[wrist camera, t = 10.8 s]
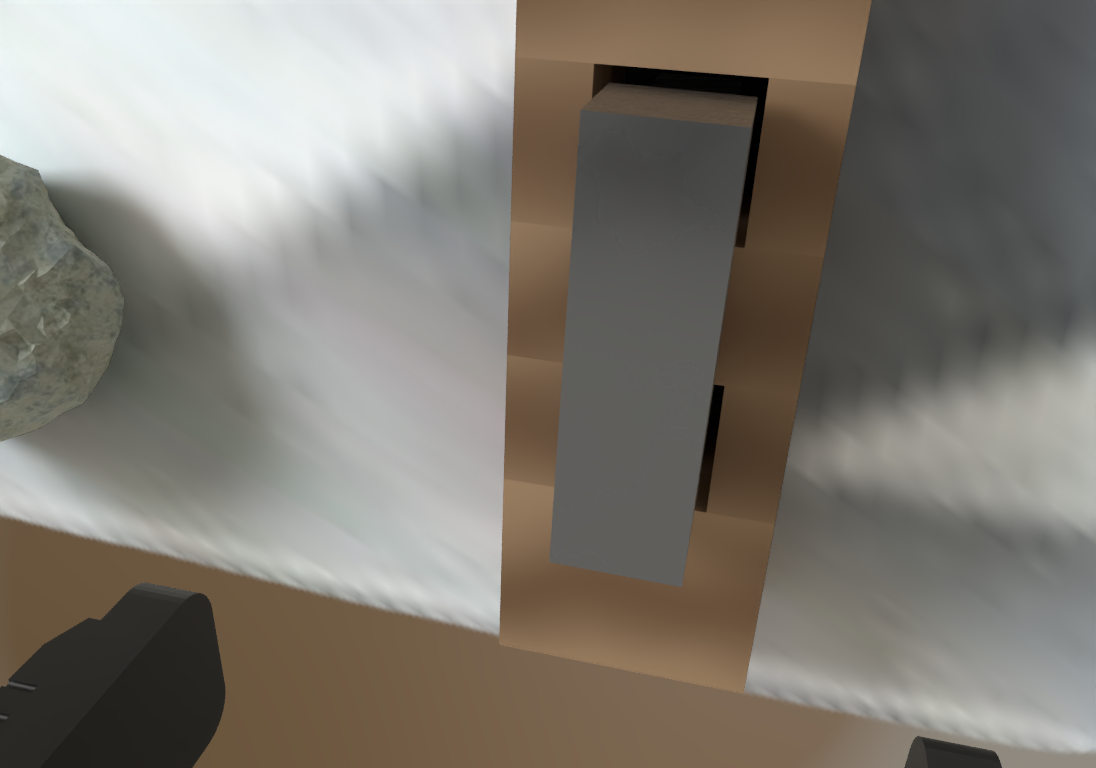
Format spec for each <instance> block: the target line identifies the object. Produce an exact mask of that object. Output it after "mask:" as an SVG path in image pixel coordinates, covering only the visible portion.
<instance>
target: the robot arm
mask: <svg viewBox="0 0 1096 768" xmlns="http://www.w3.org/2000/svg"><path fill="white" fill-rule="evenodd" d="M224 703H225V683H224V677H223V671H222V665H221V659H220V653H219V647H218V642H217V635H216V629H215V623H214V618H213V612H212V607H211V603H210V601H209V599H208V598H207V596H205V595H204V594H201V593H196V592H191V591H185V590H180V589H176V588H170V587H165V586H160V585H155V584H150V583H141V584H138V585H136V586H135V587H133V588H132V589H131V590H129V591H128V592H127V593H126V595H124V596H123V597H122V599H121V600H120V601H119V602H118V603H117V604H116V605H115V606H114V607H113V608H112V609H111V610H110V611H109V612H108V613H107V614H106V615H105V616H104V618H102V619H101V620H97V619H92V618H88V619H86V620H84V621H83V622H81V623H79V624H78V625H76V626H74V627H73V628H71V629H69V630H67V631H66V632H64V633H63V634H61V635H59V636H57V637H55V638H54V639H52V640H51V641H49V642H47V643H45V644H44V645H43V646H42V647H41V648H40V649H39V650H38V651H37V652H36V653H35V654H34V655H33V656H32V657H31V658H30V659H29V660H28V661H27V662H26V663H25V664H23V665H22V666H21V668H19V669H18V670H17V672H15V674H13V675H12V677H10V679H9V683H8V685H7V686H6V687H3V686H2V687H1V688H0V768H192V767H193V766H194V764H195V763H196V762H197V760H198V759H199V757H200V756H201V754H202V753H203V751H204V750H205V748H206V747H207V746H208V744H209V743H210V741H211V739H212V737H213V736H214V734H215V732H216V730H217V727H218V725H219V722H220V719H221V716H222V712H223V708H224ZM905 768H1002V766H1001V763H1000V760H999V758H998V756H997V754H996V753H995V752H994V751H991V750H986V749H980V748H976V747H970V746H966V745H960V744H955V743H950V742H945V741H939V740H935V739H930V738H925V737H920V736H917V737H916V738H915V739H914V741H913V743H912V745H911V748H910V751H909V754H908V758H907V761H906V764H905Z"/></svg>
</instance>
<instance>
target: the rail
mask: <svg viewBox="0 0 1096 768" xmlns="http://www.w3.org/2000/svg"><path fill="white" fill-rule="evenodd" d="M871 2H872V0H517V13H516V50H515V87H514V123H513V160H512V197H511V234H510V271H509V308H508V345H507V382H506V419H505V456H504V493H503V529H502V566H501V603H500V640H499V645H503V646H508V647H513V648H518V649H524V650H528V651H533V652H538V653H543V654H548V655H553V656H558V657H563V658H568V659H573V660H578V661H583V662H588V663H594V664H598V665H603V666H608V667H613V668H618V669H623V670H628V671H633V672H638V673H643V674H648V675H653V676H658V677H663V678H668V679H673V680H678V681H683V682H688V683H692V684H697V685H702V686H707V687H712V688H717V689H722V690H727V691H732V692H737V693H742V694H743V693H744V688H745V683H746V677H747V672H748V666H749V661H750V656H751V650H752V645H753V639H754V634H755V629H756V623H757V618H758V612H759V607H760V602H761V596H762V591H763V585H764V580H765V575H766V569H767V564H768V558H769V553H770V548H771V542H772V537H773V531H774V526H775V521H776V515H777V510H778V504H779V499H780V494H781V488H782V483H783V477H784V472H785V467H786V461H787V456H788V450H789V445H790V440H791V434H792V429H793V423H794V418H795V413H796V407H797V402H798V396H799V391H800V386H801V380H802V375H803V369H804V364H805V359H806V353H807V348H808V342H809V337H810V332H811V326H812V321H813V315H814V310H815V305H816V299H817V294H818V288H819V283H820V278H821V272H822V267H823V261H824V256H825V251H826V245H827V240H828V234H829V229H830V224H831V218H832V213H833V207H834V202H835V197H836V191H837V186H838V180H839V175H840V170H841V164H842V159H843V153H844V148H845V143H846V137H847V132H848V126H849V121H850V116H851V110H852V105H853V99H854V94H855V89H856V83H857V78H858V72H859V67H860V62H861V56H862V51H863V45H864V40H865V35H866V29H867V24H868V18H869V13H870V8H871ZM626 66H631V67H643V68H655V69H667V70H679V71H691V72H703V73H715V74H727V75H739V76H751V77H764V78H769V83H768V90H767V96H766V103H765V110H764V117H763V124H762V131H761V138H760V145H759V152H758V159H757V166H756V173H755V180H754V186H753V193H752V194H749V193H743V197H742V204H741V210H740V217H739V224H738V230H737V237H736V243H735V250H734V257H733V263H732V270H731V276H730V283H729V289H728V296H727V303H726V309H725V316H724V322H723V329H722V336H721V342H720V349H719V355H718V362H717V368H716V375H715V382H714V385H721V386H725V387H724V394H723V401H722V408H721V415H720V422H719V428H718V427H711V426H708V428H707V434H706V441H705V447H704V454H703V461H702V467H701V474H700V480H699V487H698V494H697V500H696V507H695V513H694V519H693V525H692V531H691V537H690V543H689V549H688V555H687V561H686V567H685V572H684V578H683V584H682V587H678V586H672V585H667V584H662V583H657V582H651V581H646V580H641V579H635V578H630V577H625V576H620V575H614V574H609V573H604V572H599V571H593V570H588V569H583V568H578V567H572V566H567V565H562V564H557V563H551V562H549V557H550V543H551V528H552V514H553V499H554V485H555V471H556V456H557V442H558V427H559V413H560V399H561V384H562V370H563V355H564V341H565V327H566V312H567V298H568V283H569V269H570V254H571V240H572V226H573V211H574V197H575V182H576V168H577V154H578V139H579V125H580V110H581V109H582V108H583V107H584V106H585V105H586V104H587V103H588V102H589V101H590V100H592V99H593V98H594V97H595V96H596V95H597V94H598V93H599V92H600V91H601V90H602V89H603V88H604V87H605V86H606V85H607V84H608V83H609V82H610V83H620V84H624V81H625V68H626Z"/></svg>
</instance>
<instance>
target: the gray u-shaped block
mask: <svg viewBox="0 0 1096 768" xmlns="http://www.w3.org/2000/svg"><path fill="white" fill-rule="evenodd" d="M740 87H741V80H734V79H723V78H713V77H702V76H691V75H681V74H670V73H661V74H660V75H659V76H658V77H657V79H656V80H655V81H654V82H653V83H652V85H651V86H640V85H630V84H620V83H610V82H609V83H608V84H607V85H606V86H605V87H604V88H603V89H602V90H601V91H600V92H599V93H598V94H597V95H596V96H595V97H594V98H593V99H592V100H590V101H589V102H588V103H587V104H586V105H585V106H584V107H583V108H582V109H581V110H580V125H579V139H578V154H577V168H576V182H575V197H574V211H573V226H572V240H571V254H570V269H569V283H568V298H567V312H566V327H565V341H564V355H563V370H562V384H561V399H560V413H559V427H558V442H557V456H556V471H555V485H554V499H553V514H552V528H551V543H550V557H549V562H551V563H557V564H562V565H567V566H572V567H578V568H583V569H588V570H593V571H599V572H604V573H609V574H614V575H620V576H625V577H630V578H635V579H641V580H646V581H651V582H657V583H662V584H667V585H672V586H678V587H682V584H683V578H684V572H685V567H686V561H687V555H688V549H689V543H690V537H691V531H692V525H693V519H694V513H695V507H696V500H697V494H698V487H699V480H700V474H701V467H702V461H703V454H704V447H705V441H706V434H707V428H708V421H709V415H710V408H711V401H712V395H713V388H714V382H715V375H716V368H717V362H718V355H719V349H720V342H721V336H722V329H723V322H724V316H725V309H726V303H727V296H728V289H729V283H730V276H731V270H732V263H733V257H734V250H735V243H736V237H737V230H738V224H739V217H740V210H741V204H742V197H743V191H744V184H745V178H746V171H747V164H748V158H749V151H750V145H751V138H752V131H753V125H754V118H755V112H756V105H757V99H758V97H753V96H742V95H739V94H740Z"/></svg>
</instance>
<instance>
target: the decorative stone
mask: <svg viewBox="0 0 1096 768" xmlns="http://www.w3.org/2000/svg"><path fill="white" fill-rule="evenodd" d="M123 311H124V298H123V295H122V291H121V288H120V285H119V281H118V279H117V278H116V277H115V276H114V274H113V272H112V270H111V268H110V266H109V265H108V264H106V263H105V262H103V261H102V260H101V259H100V258H99V257H97V256H96V255H95V254H94V253H93V252H92V251H90V250H88V249H86V248H85V247H84V246H83V245H82V244H81V242H80V241H79V240H78V238H77V237H76V236H75V234H74V233H73V232H72V230H70V229H69V228H68V227H66V226H65V225H64V222H63V220H62V219H61V217H60V216H59V214H58V212H57V211H56V209H55V207H54V206H53V204H52V202H51V201H50V199H49V196H48V190H47V188H46V187H45V185H44V184H43V181H42V179H41V176H40V174H39V171H38V170H36V169H34V168H31V167H28V166H26V165H23V164H20V163H17V162H15V161H13V160H10V159H8V158H6V157H4V156H2V155H0V441H3V440H6V439H9V438H13V437H16V436H19V435H22V434H25V433H28V432H30V431H33V430H36V429H38V428H41V427H43V426H44V425H46V424H47V423H49V422H50V421H52V420H53V419H55V418H56V417H58V416H59V415H61V414H62V413H64V412H66V411H68V410H70V409H73V408H75V407H77V406H80V405H81V404H83V403H84V402H85V401H86V400H87V399H88V397H89V395H90V394H91V392H92V391H93V389H94V388H95V386H96V385H97V383H98V382H99V380H100V378H101V376H102V375H103V373H104V371H105V370H106V368H107V367H108V366H109V364H110V360H111V357H112V354H113V351H114V347H115V343H116V340H117V338H118V336H119V333H120V331H121V326H122V321H123Z"/></svg>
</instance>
